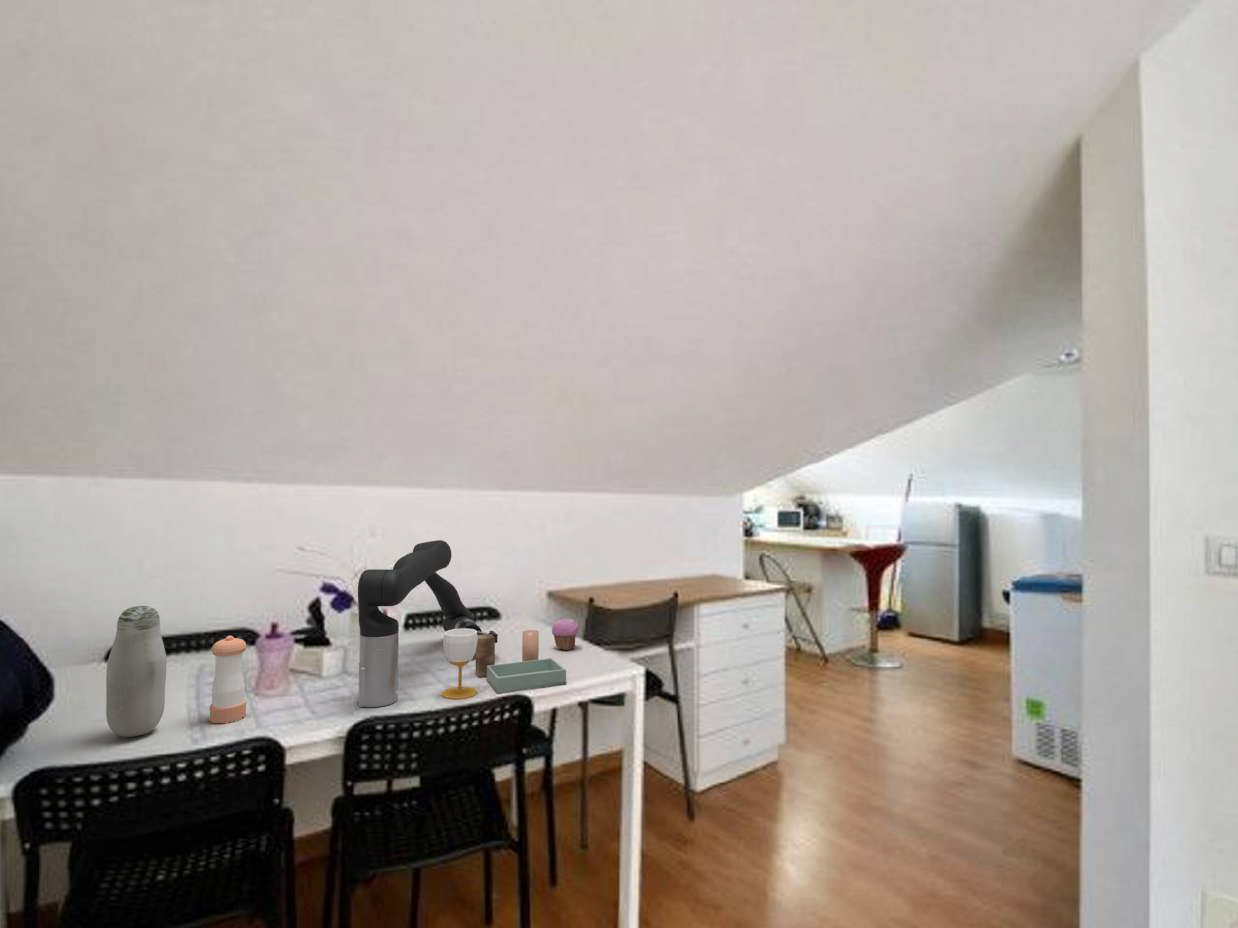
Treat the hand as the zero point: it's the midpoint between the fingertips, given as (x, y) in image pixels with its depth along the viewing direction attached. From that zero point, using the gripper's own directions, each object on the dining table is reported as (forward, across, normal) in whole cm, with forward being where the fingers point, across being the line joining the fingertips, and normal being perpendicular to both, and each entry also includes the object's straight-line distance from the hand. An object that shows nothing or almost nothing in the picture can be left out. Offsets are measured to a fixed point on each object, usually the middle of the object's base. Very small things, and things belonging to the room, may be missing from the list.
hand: (478, 644), depth 192 cm
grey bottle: (+21, -80, +7) cm, 83 cm away
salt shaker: (+18, -62, +7) cm, 65 cm away
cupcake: (-8, +31, +7) cm, 32 cm away
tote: (+20, +9, +6) cm, 23 cm away
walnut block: (+9, 0, +6) cm, 11 cm away
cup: (+22, -10, +7) cm, 25 cm away
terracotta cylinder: (+9, +14, +6) cm, 18 cm away
